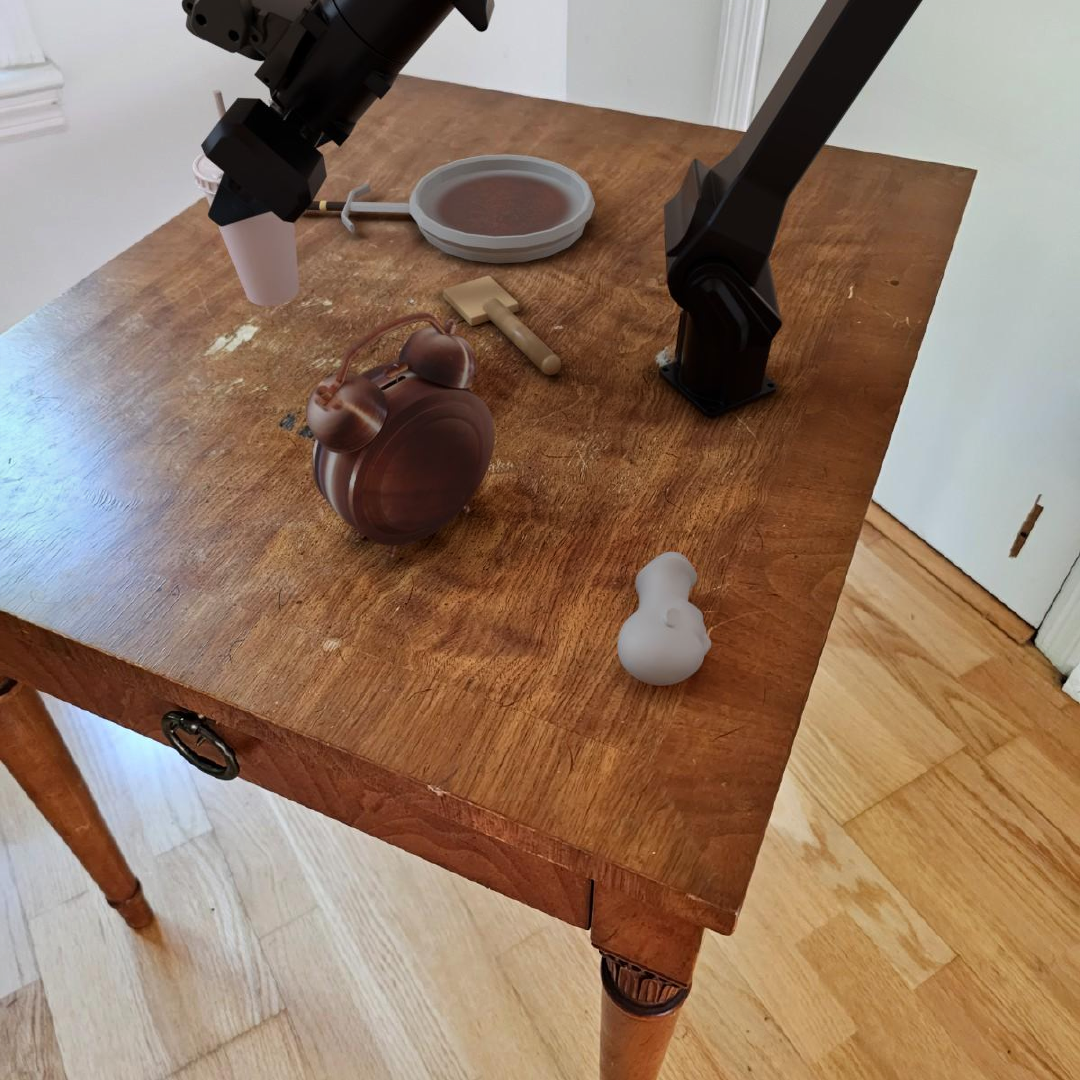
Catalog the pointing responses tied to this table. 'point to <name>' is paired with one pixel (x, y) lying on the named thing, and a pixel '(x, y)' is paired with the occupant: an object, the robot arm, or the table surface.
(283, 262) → the smoothie
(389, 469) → the alarm clock
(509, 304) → the spatula
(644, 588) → the smooth white sculpture
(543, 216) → the frying pan
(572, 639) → the table surface
